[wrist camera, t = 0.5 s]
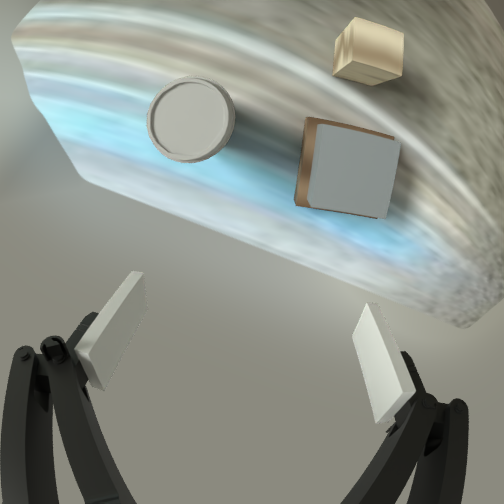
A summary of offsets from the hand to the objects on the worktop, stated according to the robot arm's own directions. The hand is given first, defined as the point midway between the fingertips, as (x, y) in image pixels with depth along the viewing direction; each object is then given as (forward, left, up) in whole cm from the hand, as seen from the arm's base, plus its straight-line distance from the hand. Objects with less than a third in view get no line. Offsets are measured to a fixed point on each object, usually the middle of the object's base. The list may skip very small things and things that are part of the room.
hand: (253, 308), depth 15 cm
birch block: (-22, +10, -26) cm, 36 cm away
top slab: (-6, +11, -23) cm, 26 cm away
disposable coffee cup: (-10, -9, -27) cm, 30 cm away
